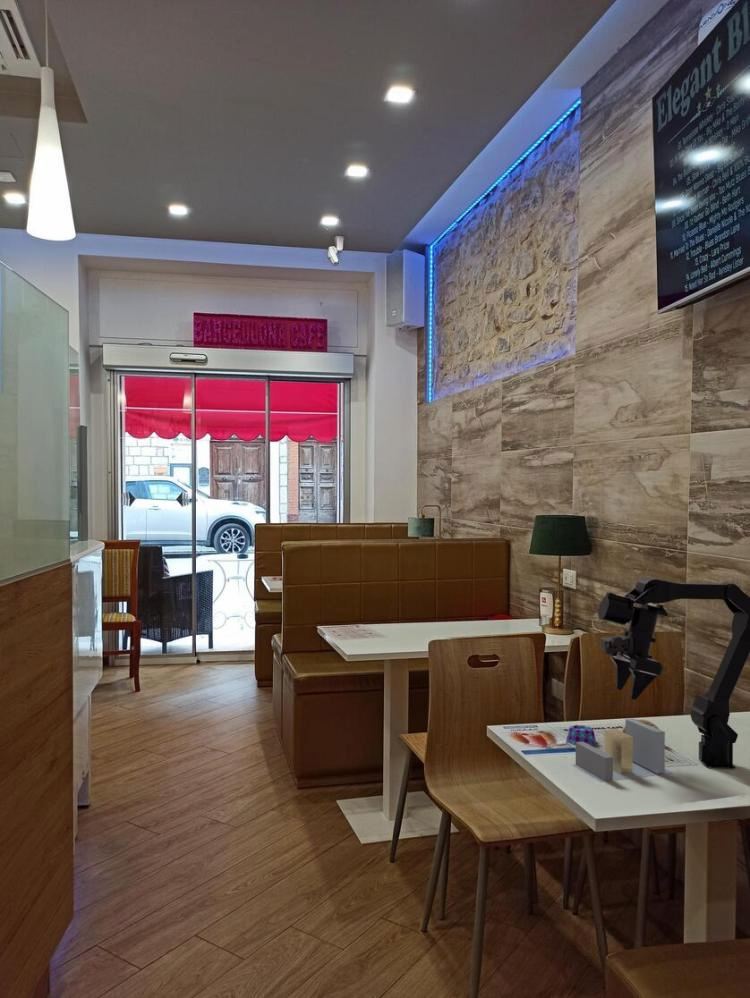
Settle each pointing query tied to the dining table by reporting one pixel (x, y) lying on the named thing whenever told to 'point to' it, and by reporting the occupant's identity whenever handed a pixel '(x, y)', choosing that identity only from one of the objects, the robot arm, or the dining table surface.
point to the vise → (605, 765)
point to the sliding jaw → (647, 745)
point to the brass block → (620, 750)
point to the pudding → (580, 735)
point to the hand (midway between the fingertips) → (625, 694)
